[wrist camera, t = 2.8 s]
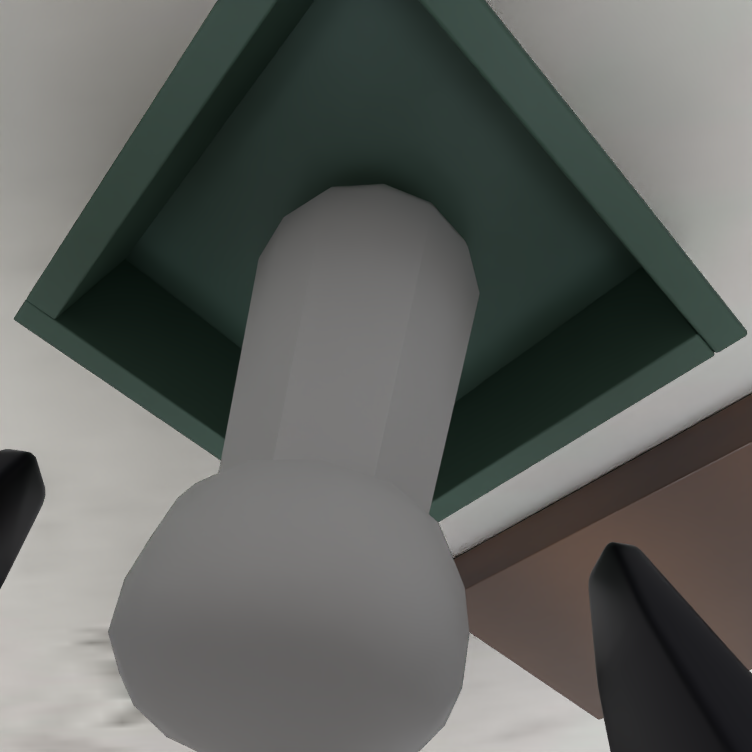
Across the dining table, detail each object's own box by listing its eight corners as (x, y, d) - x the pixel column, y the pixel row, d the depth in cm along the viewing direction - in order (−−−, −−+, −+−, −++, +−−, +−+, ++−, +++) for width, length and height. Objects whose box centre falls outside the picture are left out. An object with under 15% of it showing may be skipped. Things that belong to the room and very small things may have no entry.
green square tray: (381, 472, 22) (371, 563, 19) (96, 254, 18) (12, 319, 14) (682, 260, 16) (750, 335, 13) (365, -135, 12) (337, -188, 9)
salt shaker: (296, 346, 19) (111, 815, 8) (260, 169, 16) (-120, 558, 5) (473, 340, 18) (528, 848, 7) (474, 153, 15) (572, 569, 4)
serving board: (590, 683, 29) (598, 720, 28) (431, 570, 25) (431, 606, 24) (1071, 507, 20) (1122, 548, 19) (943, 286, 16) (995, 316, 15)
